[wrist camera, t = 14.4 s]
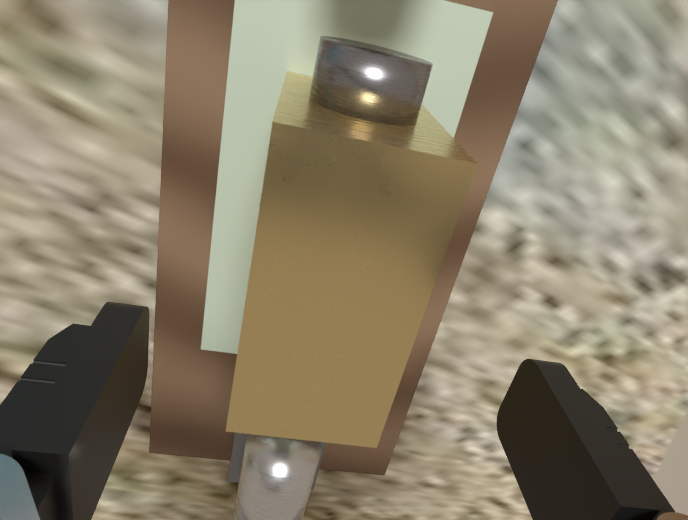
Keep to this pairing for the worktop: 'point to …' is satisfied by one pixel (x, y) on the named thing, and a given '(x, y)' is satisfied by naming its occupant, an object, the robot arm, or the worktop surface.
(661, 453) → the worktop surface
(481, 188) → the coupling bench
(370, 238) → the coupling block
